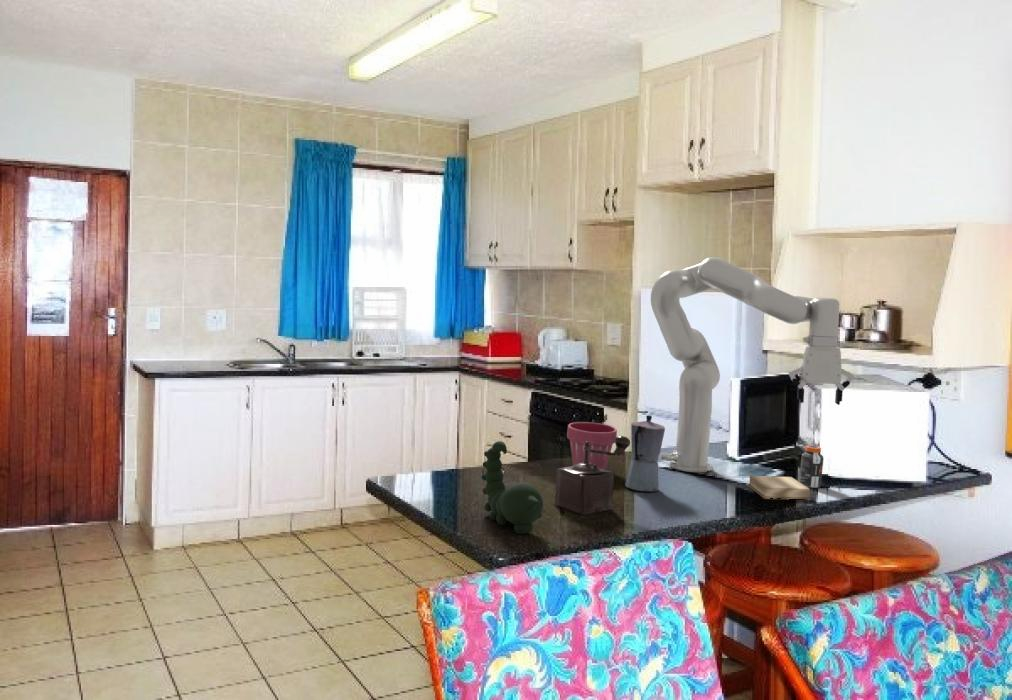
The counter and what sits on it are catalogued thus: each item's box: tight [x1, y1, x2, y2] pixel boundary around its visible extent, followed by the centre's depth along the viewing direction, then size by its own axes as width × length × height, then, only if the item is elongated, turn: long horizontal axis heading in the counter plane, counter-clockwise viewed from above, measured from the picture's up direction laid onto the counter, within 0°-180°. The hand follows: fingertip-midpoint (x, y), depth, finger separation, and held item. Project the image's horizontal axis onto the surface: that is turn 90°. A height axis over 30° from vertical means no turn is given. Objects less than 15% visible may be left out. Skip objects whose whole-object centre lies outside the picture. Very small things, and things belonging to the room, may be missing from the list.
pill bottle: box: [798, 444, 825, 489], centre depth 250 cm, size 6×6×11 cm
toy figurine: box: [481, 440, 544, 535], centre depth 199 cm, size 9×19×25 cm
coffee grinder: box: [554, 435, 631, 516], centre depth 217 cm, size 16×11×18 cm
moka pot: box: [624, 414, 666, 492], centre depth 236 cm, size 10×15×20 cm, turn 155°
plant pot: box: [566, 421, 618, 470], centre depth 253 cm, size 14×14×13 cm
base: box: [747, 475, 811, 500], centre depth 240 cm, size 13×13×3 cm
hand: (819, 403), depth 246 cm, fingers open, 9 cm apart
